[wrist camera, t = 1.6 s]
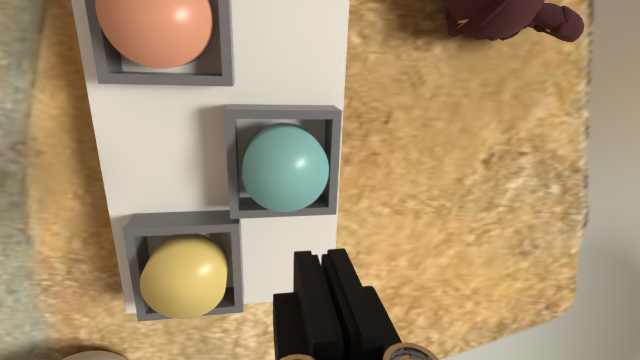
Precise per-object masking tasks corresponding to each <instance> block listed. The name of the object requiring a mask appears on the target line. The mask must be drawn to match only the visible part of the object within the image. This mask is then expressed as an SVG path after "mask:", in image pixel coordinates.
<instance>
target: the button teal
mask: <svg viewBox="0 0 640 360" xmlns="http://www.w3.org/2000/svg"><path fill="white" fill-rule="evenodd" d="M328 175H329V164H328V160H327V156H326V154H325V152H324V150H323V149H322V147H321V146H320V144H319V143H318V141H317V140H316V139H315V137H314V136H313V135H312V134H311V133H310V132H309V131H308V130H306V129H305V128H303V127H301V126H299V125H296V124H292V123H275V124H271V125H268V126H266V127H264V128H262V129H261V130H259V131H258V132H257V133H255V134H254V135H253V137H252V138H251V139H250V141H249V142H248V144H247V146H246V148H245V151H244V156H243V165H242V178H243V182H244V185H245V188H246V190H247V192H248V193H249V195H250V196H251V197H252V199H253V200H255V201H256V202H257V203H258V204H259V205H261V206H263V207H264V208H267V209H269V210H272V211H277V212H292V211H297V210H300V209H302V208H304V207H307V206H308V205H310V204H311V203H313V202H314V201H315V200H316V199H317V198H318V197H319V196H320V194H321V193H322V192H323V190H324V188H325V186H326V183H327V180H328Z"/></svg>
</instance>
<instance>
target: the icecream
mask: <svg viewBox="0 0 640 360" xmlns="http://www.w3.org/2000/svg"><path fill="white" fill-rule="evenodd" d="M442 1H443V2H444V3H445V5H446V11H445V17H446V20H447V24H448V34H450V35H452V37H454V36H457V35H460V34H463V35H464V36H466V37H470V38H473V39H476V40H479V39H489V40H490V41H494V40H497V39H500V40H502V41H503V40H506V39H509V38H512V37H513V36H515V35H517V34H518V33H519V32H520V30H521V29H522V28H523V27H525V26H528V27H530V28H533V29H535V30H536V31H537V32H544V33H547V34H549V35H551V36H554V37H556V38H558V39H560V40H563V41H566V42H574V41H575V40H577V39H578V38H579V37H580V35H581V34H582V33H583V30H584V23H583V20H582V18H581V17H580V16H579V15H578V14H577V13H576V12H574V11H573V10H572V9H570V8H569V7H566V6H562V7H561V6H558V5H556V4H551V3H544V0H442Z"/></svg>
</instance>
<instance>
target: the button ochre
mask: <svg viewBox="0 0 640 360" xmlns="http://www.w3.org/2000/svg"><path fill="white" fill-rule="evenodd" d="M227 273H228V259H227V256H226V253H225V251H224V250H223V248H222V247H221V246H220V245H219V244H218V243H217V242H216V241H214V240H213V239H211V238H209V237H207V236H205V235H202V234H178V235H172V236H170V237H168V238H166V239H164V240H163V241H162V242H160V243H159V244H158V245H157V246H156V248H155V249H154V251H153V252H152V254H151V256H150V258H149V260H148V262H147V264H146V266H145V268H144V270H143V272H142V274H141V278H140V291H141V294H142V297H143V299H144V300H145V302H146V303H147V304H148V305H149V306H150V307H151V308H152V309H153V310H155V311H156V312H158V313H160V314H162V315H164V316H167V317H170V318H176V319H189V318H195V317H199V316H201V315H204V314H206V313H208V312H209V311H211V310H212V309H214V308H215V307H216V306H217V305H218V304H219V302H220V301H221V300H222V298H223V296H224V293H225V289H226V281H227Z"/></svg>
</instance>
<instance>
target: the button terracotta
mask: <svg viewBox="0 0 640 360" xmlns="http://www.w3.org/2000/svg"><path fill="white" fill-rule="evenodd" d="M95 7H96V13H97V18H98V20H99V23H100V26H101V28H102V30H103V32H104V34H105V35H106V37H107V38H108V40H109V41H110V42H111V44H112V45H113V46H114V47H115V48H116V49H117V50H118V51H119V52H120V53H121V54H123V55H124V56H125V57H127V58H128V59H130V60H132V61H133V62H136V63H138V64H140V65H143V66H146V67H150V68H158V69H166V68H173V67H178V66H183V65H186V64H189V63H191V62H193V61H194V60H196V59H197V58H199V57H200V56H201V55H202V54H203V53H204V51H205V50H206V49H207V47H208V45H209V43H210V41H211V38H212V35H213V29H214V17H213V11H212V7H211V4H210V1H209V0H95Z"/></svg>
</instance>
